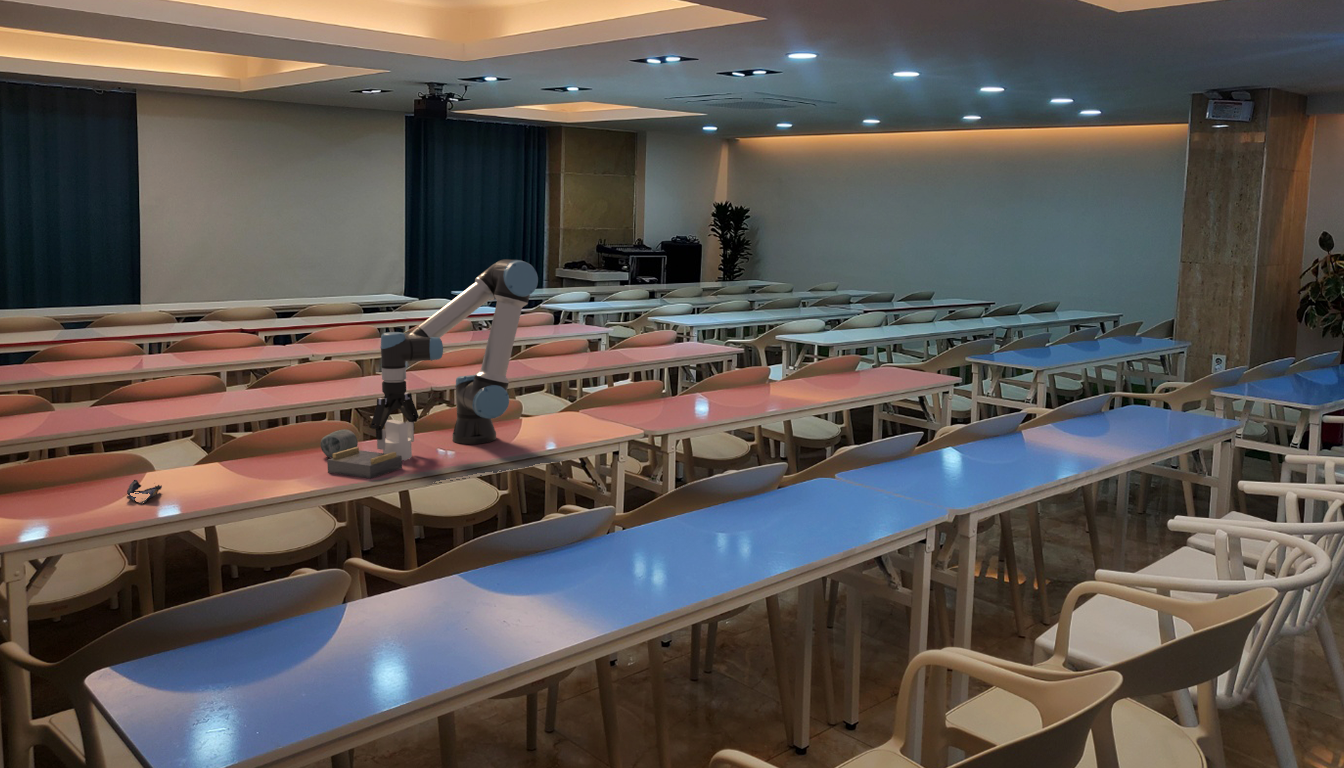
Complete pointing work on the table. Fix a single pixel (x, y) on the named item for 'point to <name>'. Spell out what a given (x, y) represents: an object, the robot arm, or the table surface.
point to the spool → (338, 442)
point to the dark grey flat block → (363, 463)
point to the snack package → (136, 485)
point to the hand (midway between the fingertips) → (396, 445)
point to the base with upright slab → (397, 439)
